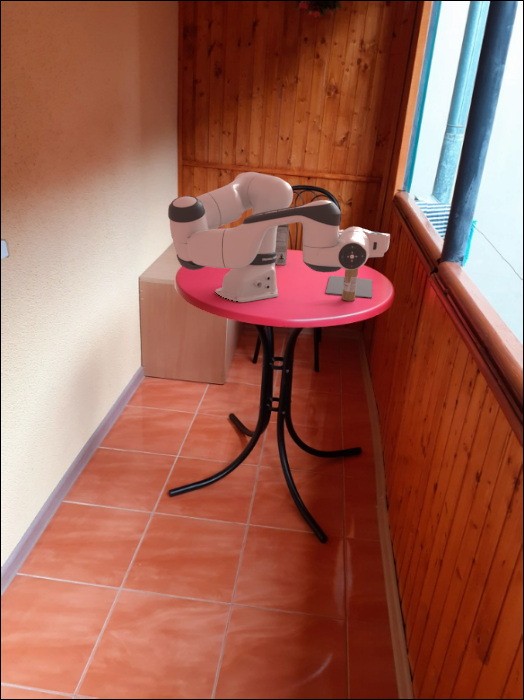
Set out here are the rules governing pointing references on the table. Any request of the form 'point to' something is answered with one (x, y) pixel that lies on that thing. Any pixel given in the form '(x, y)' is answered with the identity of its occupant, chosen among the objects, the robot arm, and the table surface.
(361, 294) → the mat
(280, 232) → the coffee box
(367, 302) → the table surface
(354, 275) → the sprinkles bottle
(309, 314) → the table surface
